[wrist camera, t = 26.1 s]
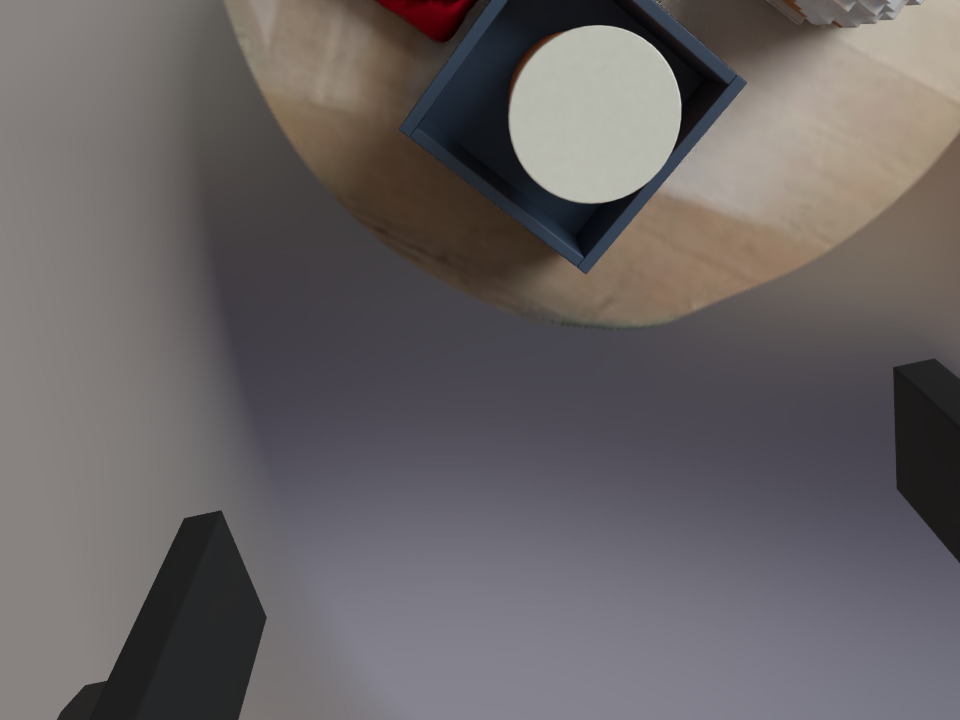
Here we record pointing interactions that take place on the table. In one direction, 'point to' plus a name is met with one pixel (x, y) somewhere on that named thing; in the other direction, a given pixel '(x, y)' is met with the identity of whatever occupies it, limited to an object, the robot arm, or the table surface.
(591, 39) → the container
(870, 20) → the decorative ornament
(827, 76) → the table surface
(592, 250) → the open box
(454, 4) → the engagement ring
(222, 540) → the robot arm
